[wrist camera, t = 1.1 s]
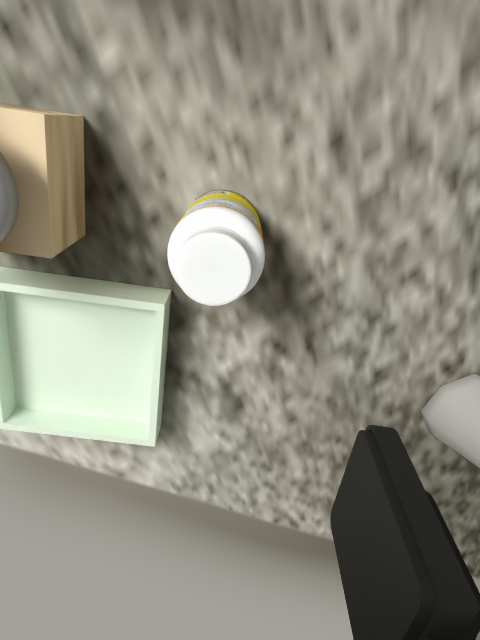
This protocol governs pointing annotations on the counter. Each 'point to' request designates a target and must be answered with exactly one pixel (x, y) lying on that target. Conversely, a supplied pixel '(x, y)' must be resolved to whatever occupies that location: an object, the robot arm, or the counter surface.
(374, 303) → the counter surface
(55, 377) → the tray
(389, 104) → the counter surface
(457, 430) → the flask
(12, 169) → the tan box with knob
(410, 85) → the counter surface
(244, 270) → the supplement bottle
